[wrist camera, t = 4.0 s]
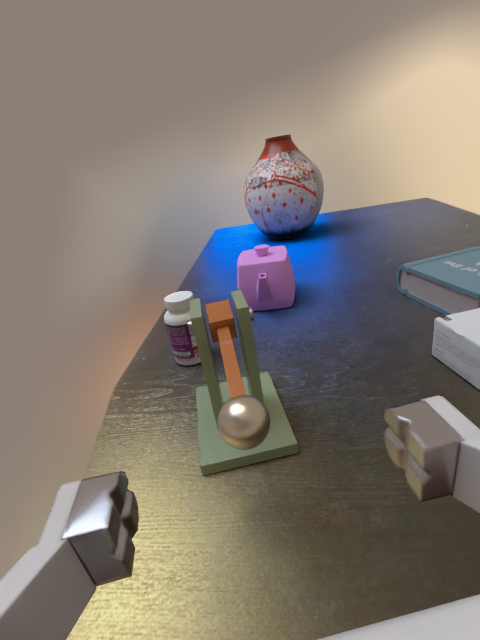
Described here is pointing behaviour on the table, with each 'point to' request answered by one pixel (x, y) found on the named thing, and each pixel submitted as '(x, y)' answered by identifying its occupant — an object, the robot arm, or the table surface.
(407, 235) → the table surface
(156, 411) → the table surface
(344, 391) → the table surface
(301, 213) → the vase
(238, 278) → the teapot
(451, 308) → the book
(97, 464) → the table surface
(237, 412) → the lever
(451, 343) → the small box
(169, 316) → the pill bottle
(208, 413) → the bracket
